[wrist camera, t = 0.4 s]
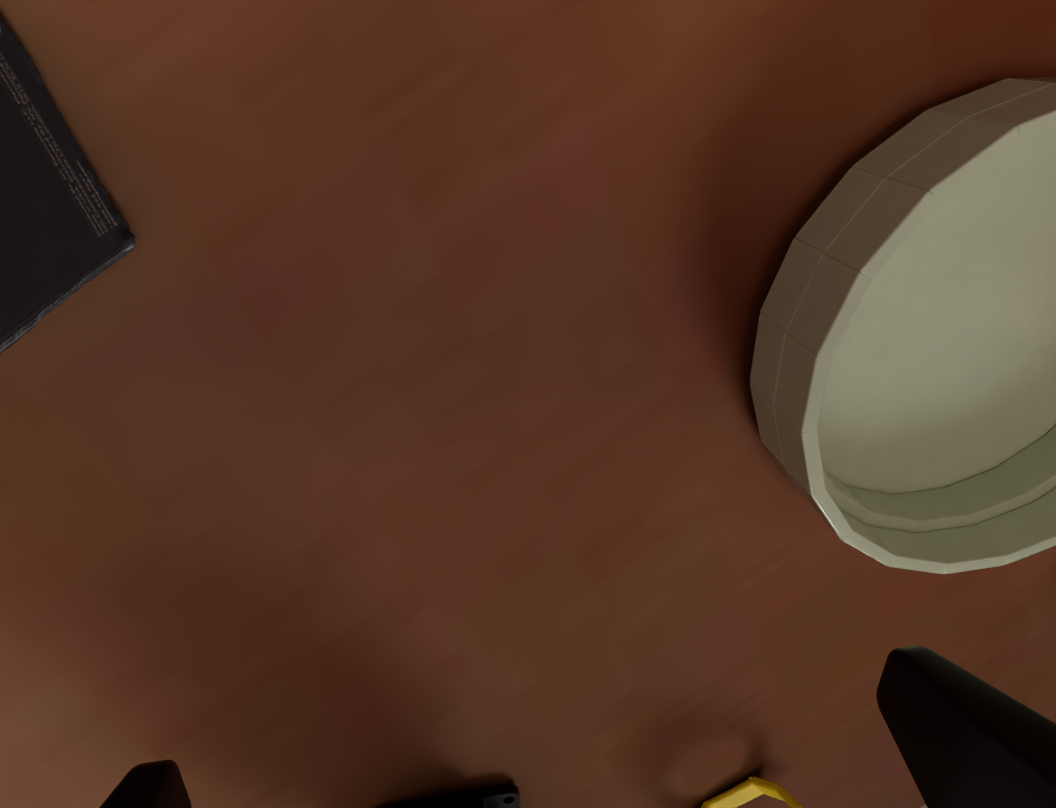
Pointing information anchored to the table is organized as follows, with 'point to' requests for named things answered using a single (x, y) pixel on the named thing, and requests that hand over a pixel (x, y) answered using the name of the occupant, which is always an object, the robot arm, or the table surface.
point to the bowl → (925, 340)
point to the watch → (750, 794)
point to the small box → (45, 202)
